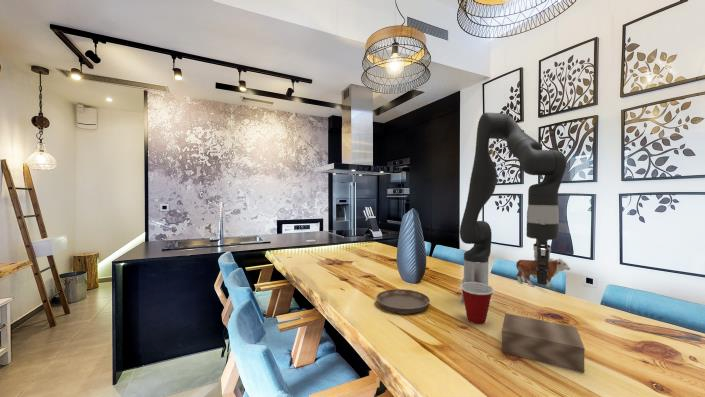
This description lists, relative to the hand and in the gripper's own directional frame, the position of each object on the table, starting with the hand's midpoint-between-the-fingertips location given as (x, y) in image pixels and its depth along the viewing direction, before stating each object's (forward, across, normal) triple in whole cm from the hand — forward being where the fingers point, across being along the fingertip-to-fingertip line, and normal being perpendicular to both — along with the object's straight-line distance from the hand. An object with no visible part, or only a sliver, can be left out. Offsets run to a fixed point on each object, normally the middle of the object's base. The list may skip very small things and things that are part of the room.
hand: (541, 281), depth 81 cm
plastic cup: (+20, -11, -18) cm, 29 cm away
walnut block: (+19, 0, 0) cm, 19 cm away
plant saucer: (+20, -11, -45) cm, 51 cm away
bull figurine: (+2, 0, 0) cm, 2 cm away
